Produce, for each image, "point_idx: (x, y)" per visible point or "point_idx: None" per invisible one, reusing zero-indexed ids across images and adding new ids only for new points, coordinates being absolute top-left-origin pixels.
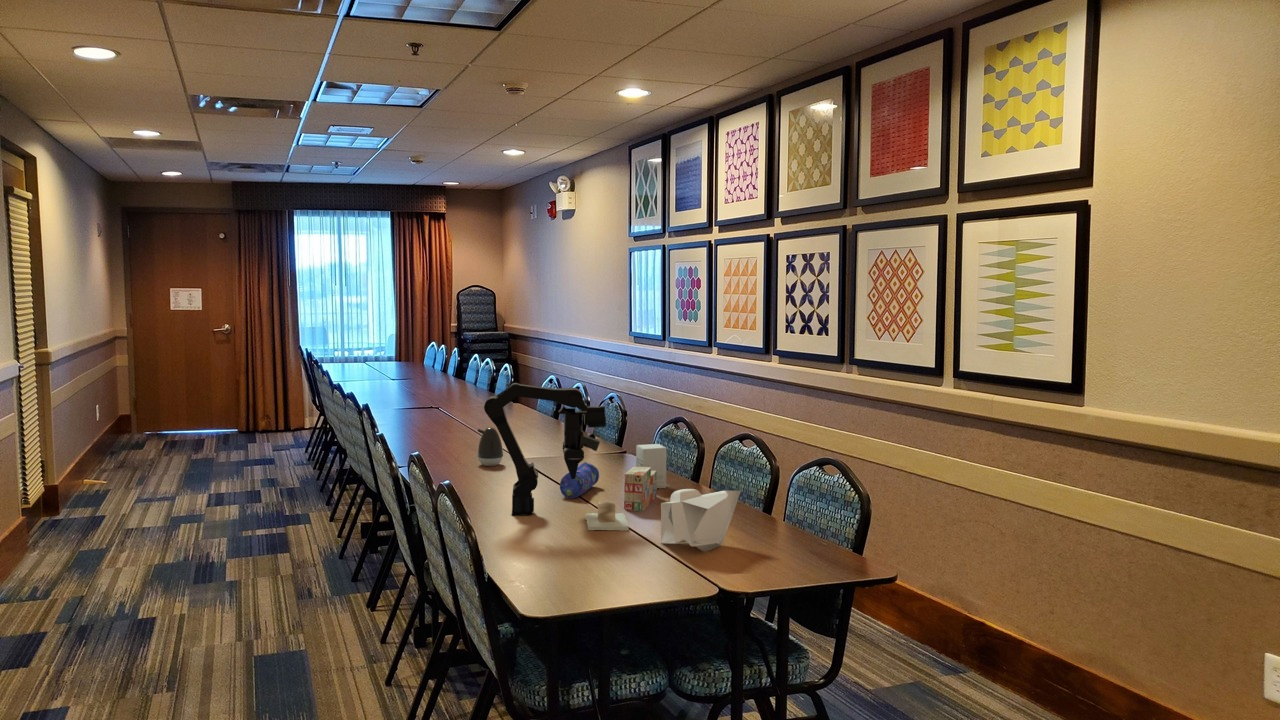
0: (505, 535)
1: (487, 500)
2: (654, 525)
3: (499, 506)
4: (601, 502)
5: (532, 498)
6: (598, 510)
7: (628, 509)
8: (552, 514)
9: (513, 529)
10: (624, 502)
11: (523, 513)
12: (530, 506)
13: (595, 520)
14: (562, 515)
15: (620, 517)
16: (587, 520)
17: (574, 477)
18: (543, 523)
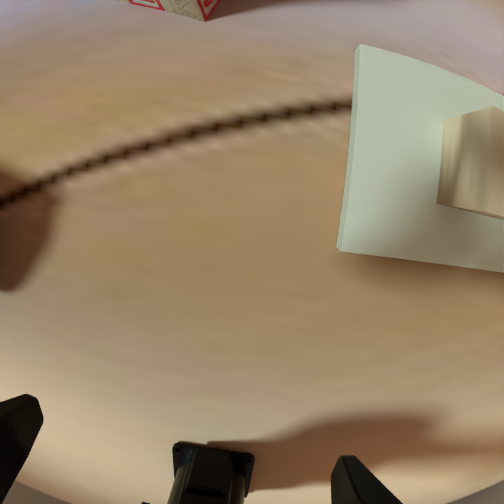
0: (446, 484)
1: (66, 484)
2: (479, 6)
3: (123, 489)
4: (500, 192)
5: (209, 493)
6: (499, 217)
7: (216, 3)
8: (246, 390)
9: (407, 482)
10: (199, 1)
11: (245, 476)
12: (232, 477)
13: (473, 227)
14: (273, 353)
15: (441, 89)
16: (465, 265)
17: (361, 469)
18: (381, 425)
